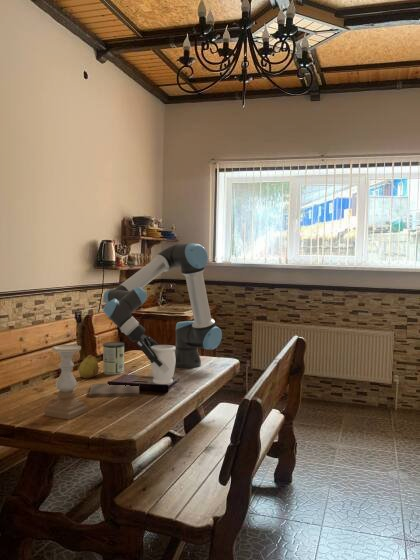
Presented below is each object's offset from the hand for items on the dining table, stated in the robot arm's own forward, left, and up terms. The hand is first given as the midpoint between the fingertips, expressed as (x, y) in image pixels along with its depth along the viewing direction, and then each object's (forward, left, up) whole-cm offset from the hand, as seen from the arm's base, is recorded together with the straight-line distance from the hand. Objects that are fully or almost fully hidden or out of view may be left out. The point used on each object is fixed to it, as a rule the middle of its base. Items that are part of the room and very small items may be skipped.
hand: (169, 368), depth 207 cm
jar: (+3, -1, -6) cm, 7 cm away
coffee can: (+25, -37, -10) cm, 46 cm away
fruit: (+36, -28, -10) cm, 46 cm away
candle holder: (+39, +25, -10) cm, 47 cm away
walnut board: (+23, -3, -10) cm, 25 cm away
